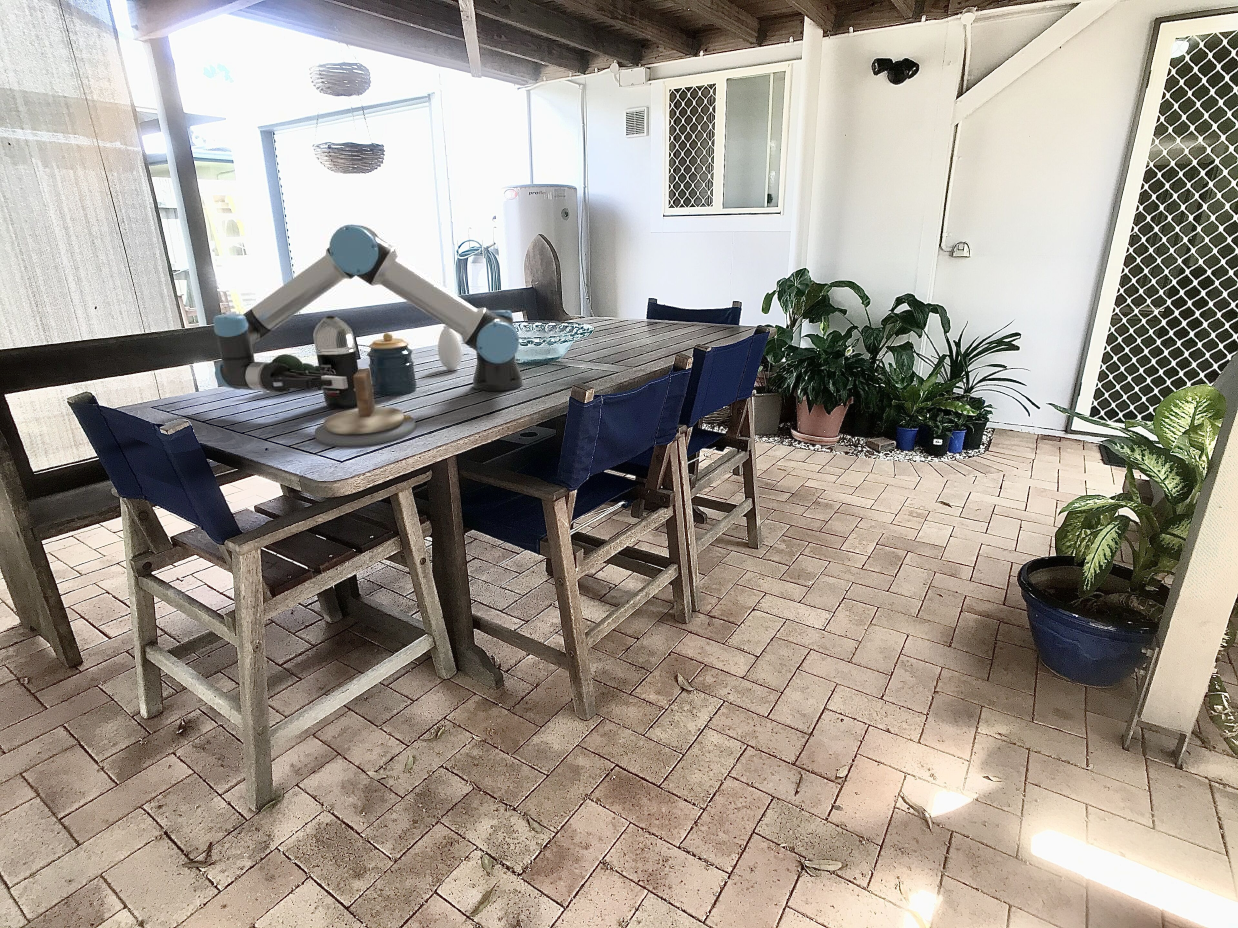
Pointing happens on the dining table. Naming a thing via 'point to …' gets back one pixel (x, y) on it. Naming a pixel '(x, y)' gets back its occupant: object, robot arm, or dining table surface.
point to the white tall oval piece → (449, 349)
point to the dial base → (365, 435)
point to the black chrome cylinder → (336, 359)
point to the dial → (364, 411)
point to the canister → (391, 366)
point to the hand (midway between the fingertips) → (344, 382)
